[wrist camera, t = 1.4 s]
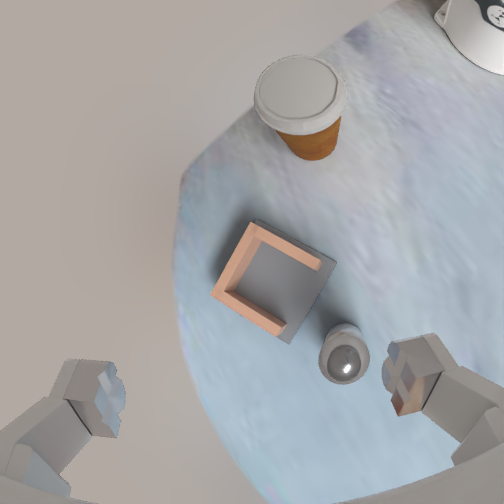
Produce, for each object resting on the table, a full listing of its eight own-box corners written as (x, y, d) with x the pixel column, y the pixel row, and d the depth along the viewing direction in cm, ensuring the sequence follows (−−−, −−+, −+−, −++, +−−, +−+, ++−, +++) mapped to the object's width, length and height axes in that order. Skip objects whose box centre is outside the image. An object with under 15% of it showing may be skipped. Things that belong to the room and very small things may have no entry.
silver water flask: (338, 316, 36) (335, 328, 25) (370, 334, 35) (381, 354, 24) (318, 348, 37) (305, 374, 25) (350, 367, 35) (351, 400, 24)
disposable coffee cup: (316, 187, 39) (303, 146, 27) (261, 143, 41) (231, 96, 30) (364, 135, 38) (367, 81, 26) (308, 96, 40) (293, 39, 29)
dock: (257, 219, 40) (248, 212, 37) (336, 262, 37) (335, 259, 33) (214, 296, 41) (201, 297, 37) (289, 343, 38) (283, 349, 34)
